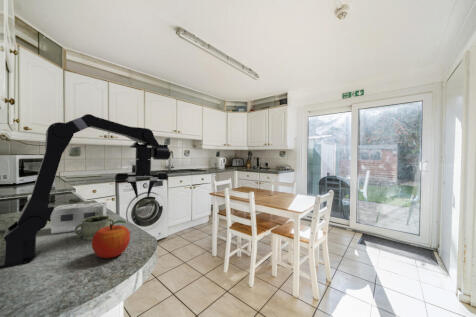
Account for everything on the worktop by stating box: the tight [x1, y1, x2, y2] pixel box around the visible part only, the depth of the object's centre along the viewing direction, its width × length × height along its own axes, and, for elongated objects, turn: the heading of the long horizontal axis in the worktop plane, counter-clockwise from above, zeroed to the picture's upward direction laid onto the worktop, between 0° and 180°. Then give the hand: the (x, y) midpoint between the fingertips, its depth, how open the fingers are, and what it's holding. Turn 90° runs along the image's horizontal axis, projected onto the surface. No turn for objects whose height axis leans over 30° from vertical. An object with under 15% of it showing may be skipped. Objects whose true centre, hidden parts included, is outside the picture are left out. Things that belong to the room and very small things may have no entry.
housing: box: [50, 201, 107, 235], centre depth 78 cm, size 8×16×9 cm, turn 117°
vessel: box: [74, 215, 115, 240], centre depth 70 cm, size 12×9×6 cm
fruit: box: [91, 219, 131, 259], centre depth 56 cm, size 10×10×10 cm
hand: (142, 197), depth 77 cm, fingers open, 4 cm apart
